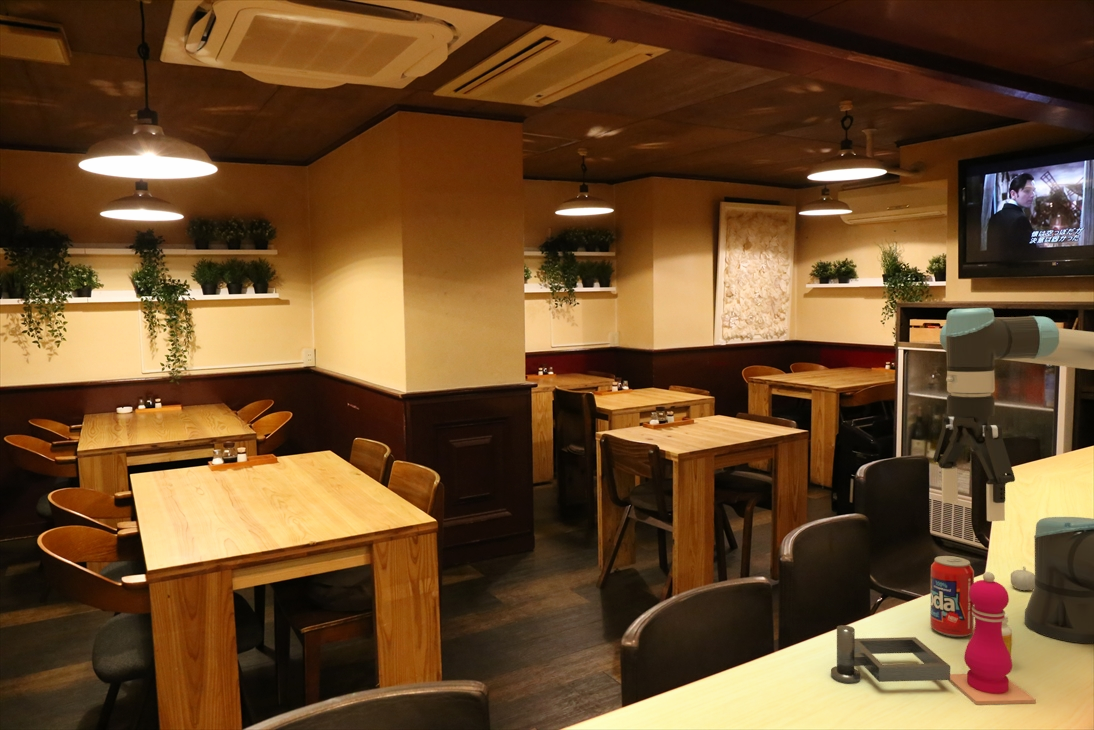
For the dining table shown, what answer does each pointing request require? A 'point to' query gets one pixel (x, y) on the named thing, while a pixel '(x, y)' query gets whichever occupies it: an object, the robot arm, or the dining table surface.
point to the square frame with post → (862, 655)
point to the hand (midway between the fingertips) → (971, 511)
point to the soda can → (951, 596)
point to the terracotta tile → (983, 698)
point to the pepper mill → (988, 638)
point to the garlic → (1023, 579)
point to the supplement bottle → (1007, 634)
